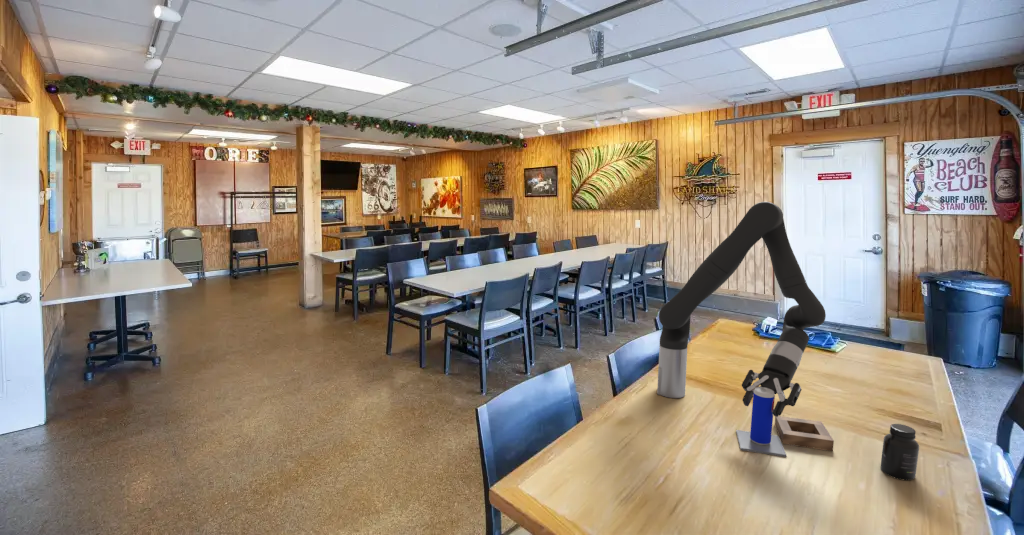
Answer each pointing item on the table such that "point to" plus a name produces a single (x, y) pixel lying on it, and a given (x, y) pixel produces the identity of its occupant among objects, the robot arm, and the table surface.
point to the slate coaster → (748, 445)
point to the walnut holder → (790, 437)
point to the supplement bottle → (900, 452)
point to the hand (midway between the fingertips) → (759, 409)
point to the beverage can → (762, 415)
